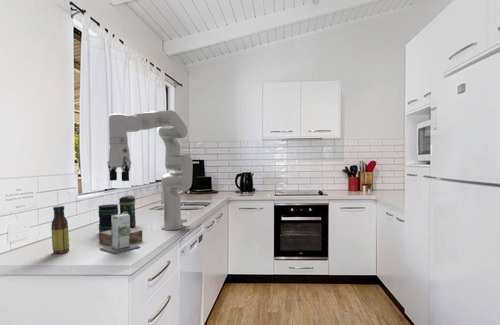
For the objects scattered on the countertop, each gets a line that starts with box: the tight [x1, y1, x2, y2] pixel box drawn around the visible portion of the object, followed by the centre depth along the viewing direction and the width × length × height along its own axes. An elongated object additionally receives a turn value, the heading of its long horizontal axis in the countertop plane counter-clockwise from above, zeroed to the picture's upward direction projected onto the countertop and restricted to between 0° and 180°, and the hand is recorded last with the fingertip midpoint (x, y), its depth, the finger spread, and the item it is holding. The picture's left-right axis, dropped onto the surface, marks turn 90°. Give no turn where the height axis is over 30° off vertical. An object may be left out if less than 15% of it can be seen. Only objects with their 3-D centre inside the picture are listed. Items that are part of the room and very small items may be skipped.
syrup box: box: [111, 213, 130, 249], centre depth 141 cm, size 6×6×14 cm
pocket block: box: [98, 227, 143, 246], centre depth 154 cm, size 14×14×5 cm
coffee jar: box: [118, 195, 137, 228], centre depth 189 cm, size 10×8×19 cm
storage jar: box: [98, 203, 119, 233], centre depth 174 cm, size 10×10×15 cm
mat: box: [99, 243, 141, 255], centre depth 141 cm, size 12×12×1 cm
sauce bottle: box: [51, 205, 70, 255], centre depth 137 cm, size 7×6×20 cm
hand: (119, 180), depth 141 cm, fingers open, 9 cm apart
